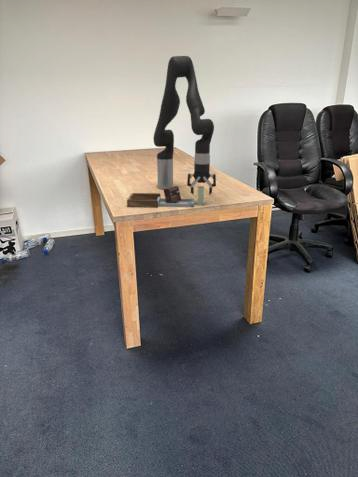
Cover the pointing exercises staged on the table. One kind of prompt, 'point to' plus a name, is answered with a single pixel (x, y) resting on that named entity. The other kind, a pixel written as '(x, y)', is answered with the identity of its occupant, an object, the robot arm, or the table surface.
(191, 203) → the pull frame
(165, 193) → the box
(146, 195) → the dark brown tray
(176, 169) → the table surface
